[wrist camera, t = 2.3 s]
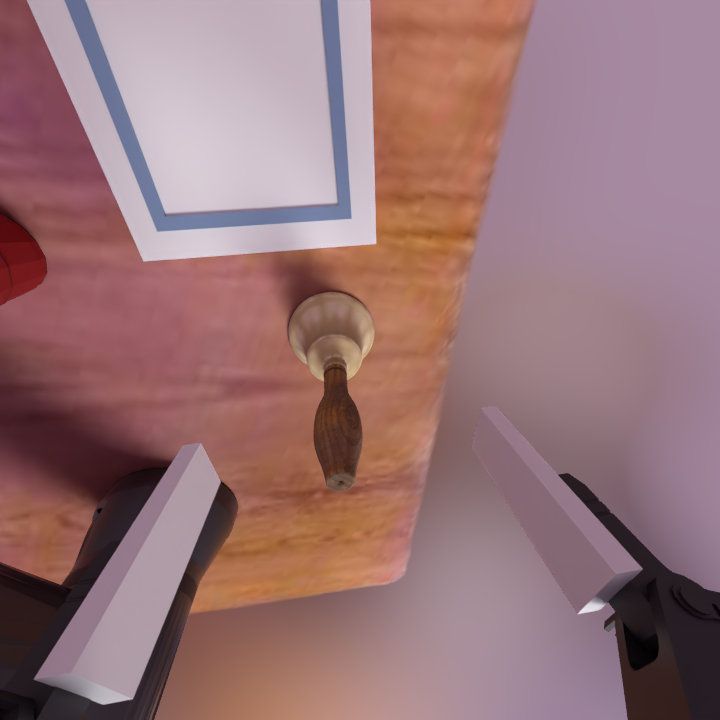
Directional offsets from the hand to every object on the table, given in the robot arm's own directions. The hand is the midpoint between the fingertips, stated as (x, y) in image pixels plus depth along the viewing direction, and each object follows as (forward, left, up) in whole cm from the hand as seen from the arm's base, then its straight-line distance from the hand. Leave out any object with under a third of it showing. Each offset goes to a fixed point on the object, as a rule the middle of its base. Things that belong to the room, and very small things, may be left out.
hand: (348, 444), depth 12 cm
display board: (-4, +16, -14) cm, 22 cm away
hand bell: (0, 0, -14) cm, 14 cm away
